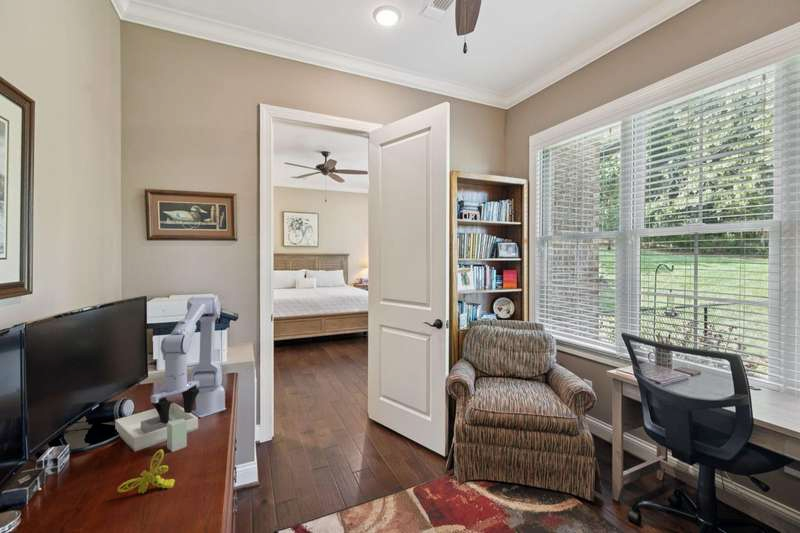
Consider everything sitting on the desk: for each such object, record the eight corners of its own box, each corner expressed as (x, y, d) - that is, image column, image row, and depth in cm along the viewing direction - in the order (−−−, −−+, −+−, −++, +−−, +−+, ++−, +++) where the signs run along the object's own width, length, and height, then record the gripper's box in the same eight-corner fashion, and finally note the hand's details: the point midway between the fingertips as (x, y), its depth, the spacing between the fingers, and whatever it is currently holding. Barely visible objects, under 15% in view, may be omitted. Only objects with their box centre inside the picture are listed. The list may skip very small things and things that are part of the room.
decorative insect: (146, 513, 88) (114, 491, 85) (149, 505, 91) (119, 483, 88) (188, 472, 91) (159, 450, 89) (190, 466, 94) (162, 444, 91)
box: (175, 413, 133) (174, 402, 133) (198, 429, 121) (198, 417, 121) (115, 431, 119) (115, 419, 119) (134, 451, 107) (134, 438, 107)
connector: (181, 442, 112) (181, 417, 112) (186, 446, 110) (186, 420, 110) (167, 447, 109) (166, 421, 109) (172, 451, 107) (172, 425, 107)
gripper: (187, 365, 117) (188, 406, 118) (143, 379, 104) (143, 425, 104) (203, 368, 115) (204, 409, 115) (160, 382, 101) (160, 429, 102)
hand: (176, 417), depth 109 cm, fingers open, 7 cm apart
